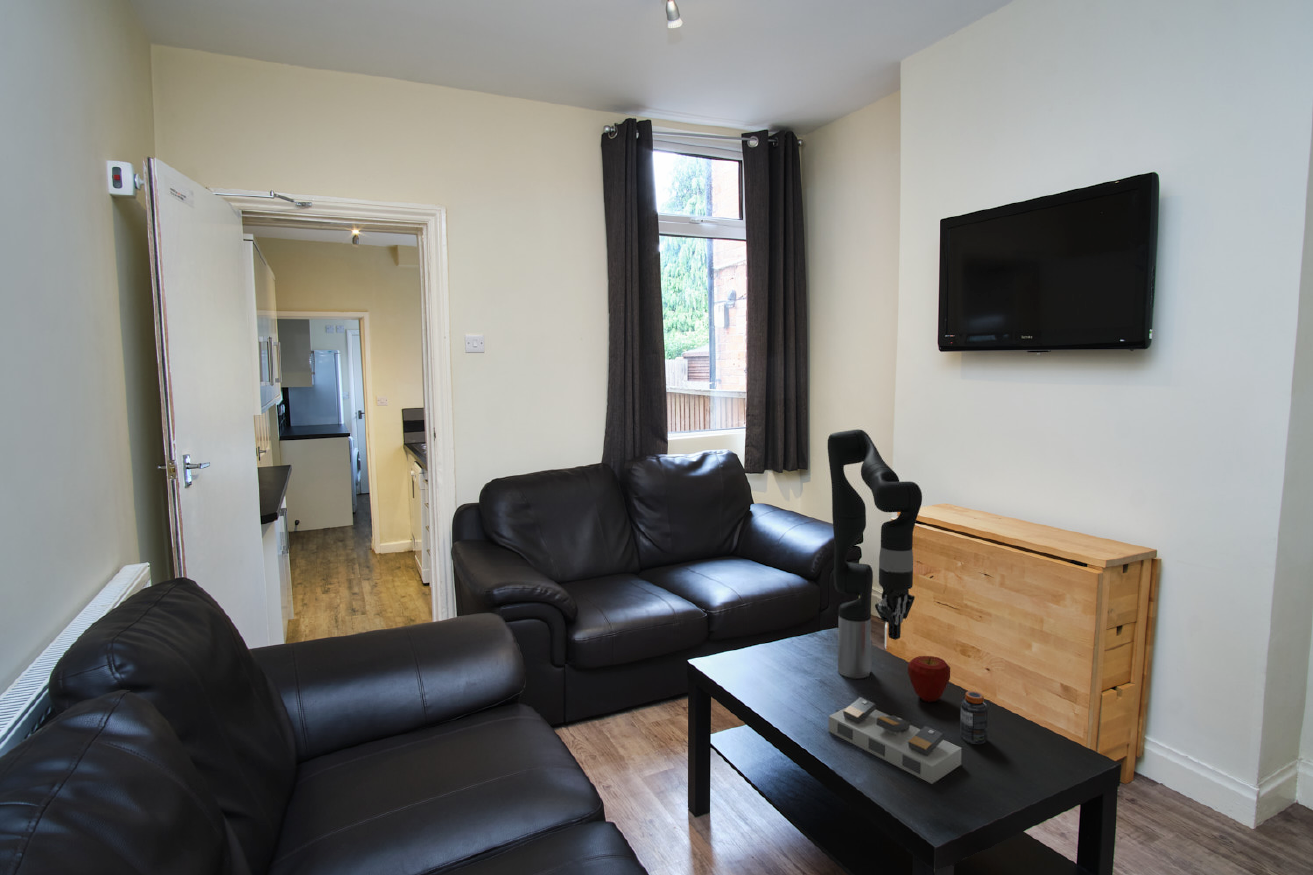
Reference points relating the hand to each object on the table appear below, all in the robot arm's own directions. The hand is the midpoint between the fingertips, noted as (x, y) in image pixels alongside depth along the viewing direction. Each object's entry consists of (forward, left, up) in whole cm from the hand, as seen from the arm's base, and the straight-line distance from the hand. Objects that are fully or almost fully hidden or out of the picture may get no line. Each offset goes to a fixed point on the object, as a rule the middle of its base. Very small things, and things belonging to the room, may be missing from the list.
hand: (894, 638), depth 161 cm
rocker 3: (0, +9, -23) cm, 25 cm away
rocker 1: (0, -9, -23) cm, 25 cm away
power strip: (0, 0, -27) cm, 27 cm away
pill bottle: (-19, +10, -27) cm, 35 cm away
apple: (-29, -8, -27) cm, 41 cm away
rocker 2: (0, 0, -23) cm, 23 cm away
